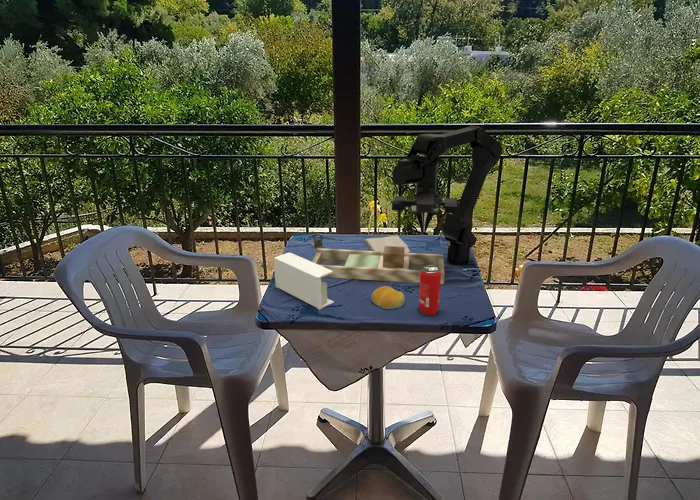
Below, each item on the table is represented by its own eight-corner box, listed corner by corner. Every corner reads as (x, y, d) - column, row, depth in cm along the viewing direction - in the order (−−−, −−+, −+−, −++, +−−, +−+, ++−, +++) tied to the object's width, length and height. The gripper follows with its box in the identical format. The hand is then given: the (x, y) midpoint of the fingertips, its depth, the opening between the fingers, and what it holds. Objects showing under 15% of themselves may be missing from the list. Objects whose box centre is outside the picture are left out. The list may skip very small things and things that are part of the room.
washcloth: (378, 264, 162) (378, 255, 161) (363, 244, 178) (363, 235, 177) (413, 260, 165) (413, 251, 164) (396, 241, 181) (396, 233, 180)
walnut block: (404, 260, 157) (404, 247, 155) (403, 268, 151) (403, 254, 150) (384, 259, 158) (384, 246, 156) (382, 267, 152) (383, 253, 150)
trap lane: (442, 265, 160) (443, 254, 158) (443, 284, 147) (444, 273, 146) (317, 258, 165) (317, 248, 164) (308, 276, 152) (307, 265, 151)
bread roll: (389, 313, 131) (390, 299, 130) (366, 301, 138) (366, 288, 136) (411, 303, 136) (412, 290, 135) (388, 292, 143) (388, 279, 141)
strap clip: (309, 244, 178) (308, 233, 176) (317, 243, 179) (316, 231, 177) (319, 252, 171) (318, 240, 169) (327, 251, 172) (326, 239, 170)
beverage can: (416, 306, 134) (418, 265, 130) (435, 306, 135) (438, 264, 130) (420, 316, 129) (423, 273, 125) (440, 315, 130) (443, 272, 125)
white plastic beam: (334, 303, 137) (333, 271, 133) (318, 310, 133) (317, 277, 129) (288, 280, 150) (286, 251, 146) (273, 286, 146) (270, 256, 143)
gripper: (391, 186, 137) (389, 240, 143) (461, 188, 135) (457, 244, 141) (393, 176, 148) (392, 227, 153) (459, 178, 145) (455, 230, 151)
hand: (423, 232), depth 149 cm, fingers closed
